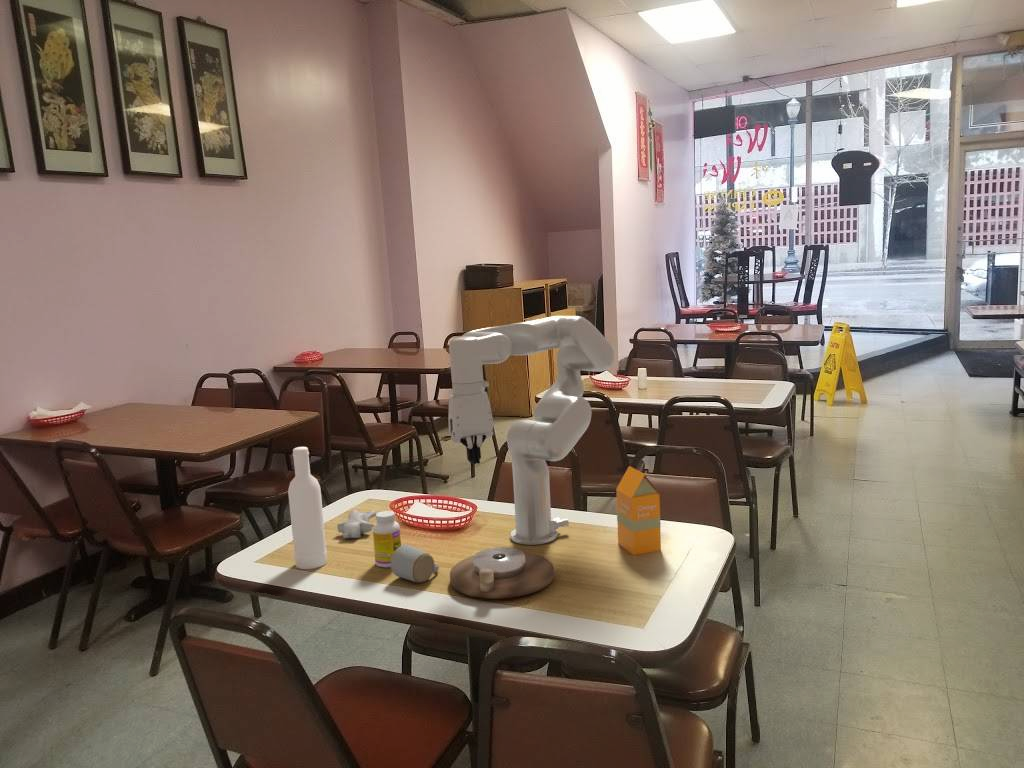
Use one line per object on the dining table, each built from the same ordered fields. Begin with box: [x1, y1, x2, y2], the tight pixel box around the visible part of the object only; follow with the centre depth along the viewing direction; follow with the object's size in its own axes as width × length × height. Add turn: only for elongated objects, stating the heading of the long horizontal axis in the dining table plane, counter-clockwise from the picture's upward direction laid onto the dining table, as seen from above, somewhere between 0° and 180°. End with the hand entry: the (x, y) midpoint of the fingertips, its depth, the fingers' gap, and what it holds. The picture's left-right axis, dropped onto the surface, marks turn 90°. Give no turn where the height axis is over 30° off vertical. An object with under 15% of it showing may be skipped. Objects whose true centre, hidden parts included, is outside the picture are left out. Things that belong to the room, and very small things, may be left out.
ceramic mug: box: [390, 544, 440, 583], centre depth 183 cm, size 11×8×8 cm
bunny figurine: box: [337, 509, 378, 539], centre depth 218 cm, size 10×5×15 cm
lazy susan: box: [449, 551, 555, 600], centre depth 178 cm, size 24×24×6 cm
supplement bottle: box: [372, 510, 402, 568], centre depth 192 cm, size 7×7×13 cm
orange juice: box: [615, 465, 662, 556], centre depth 194 cm, size 8×9×20 cm
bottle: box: [287, 446, 328, 570], centre depth 193 cm, size 8×8×30 cm
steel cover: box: [473, 546, 526, 580], centre depth 179 cm, size 12×12×3 cm
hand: (474, 462), depth 188 cm, fingers closed
